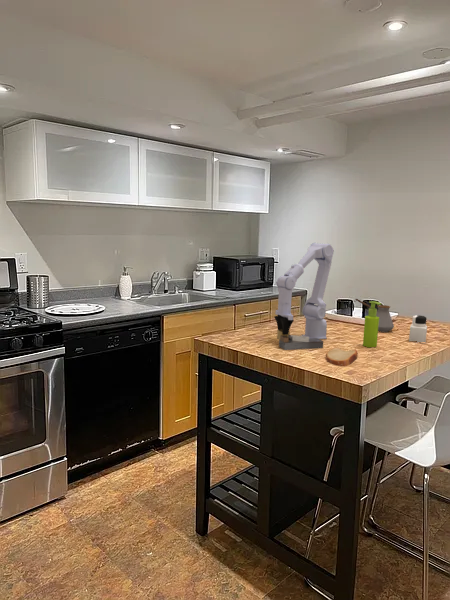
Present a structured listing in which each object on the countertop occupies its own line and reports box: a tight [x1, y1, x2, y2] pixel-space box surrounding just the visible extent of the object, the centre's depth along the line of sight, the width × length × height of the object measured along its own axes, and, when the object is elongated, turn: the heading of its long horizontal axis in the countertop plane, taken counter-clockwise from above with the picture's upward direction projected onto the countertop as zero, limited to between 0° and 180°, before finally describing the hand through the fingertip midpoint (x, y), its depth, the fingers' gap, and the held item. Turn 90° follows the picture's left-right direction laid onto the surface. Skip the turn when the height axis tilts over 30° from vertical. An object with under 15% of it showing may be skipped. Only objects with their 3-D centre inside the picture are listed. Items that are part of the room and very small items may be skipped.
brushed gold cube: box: [276, 329, 291, 341], centre depth 209 cm, size 4×4×4 cm
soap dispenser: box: [362, 300, 382, 348], centre depth 206 cm, size 6×7×20 cm
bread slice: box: [325, 346, 359, 367], centre depth 185 cm, size 18×18×4 cm
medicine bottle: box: [408, 314, 428, 343], centre depth 220 cm, size 7×7×12 cm
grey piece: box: [278, 335, 324, 351], centre depth 201 cm, size 18×6×5 cm, turn 107°
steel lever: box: [288, 334, 309, 342], centre depth 199 cm, size 9×2×2 cm, turn 76°
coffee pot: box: [354, 298, 395, 333], centre depth 243 cm, size 21×12×15 cm, turn 53°
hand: (283, 333), depth 209 cm, fingers closed on brushed gold cube, 4 cm apart
